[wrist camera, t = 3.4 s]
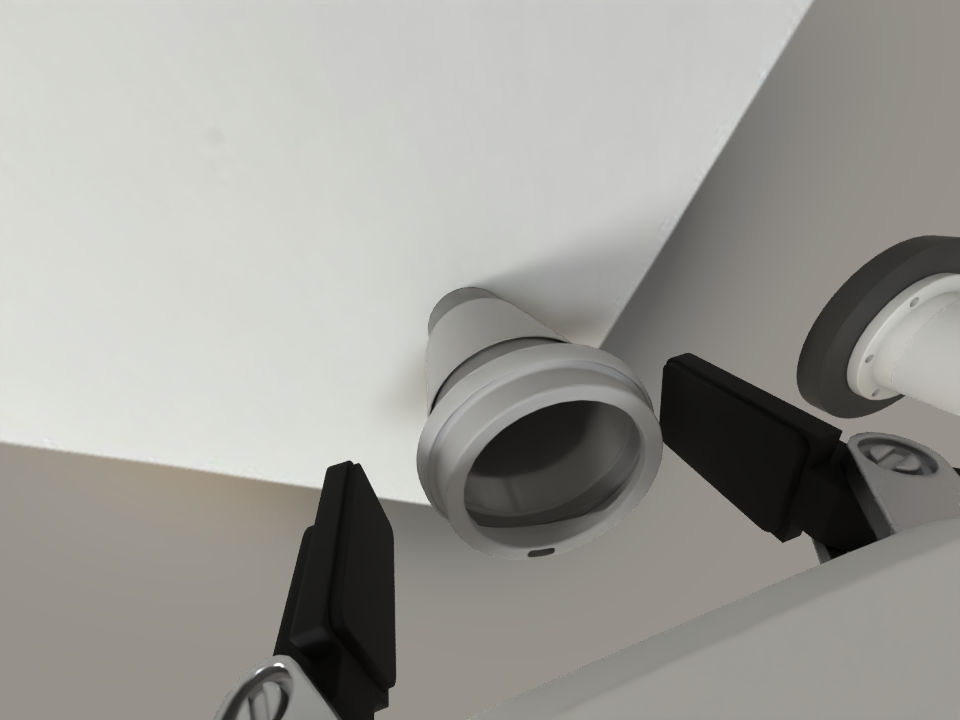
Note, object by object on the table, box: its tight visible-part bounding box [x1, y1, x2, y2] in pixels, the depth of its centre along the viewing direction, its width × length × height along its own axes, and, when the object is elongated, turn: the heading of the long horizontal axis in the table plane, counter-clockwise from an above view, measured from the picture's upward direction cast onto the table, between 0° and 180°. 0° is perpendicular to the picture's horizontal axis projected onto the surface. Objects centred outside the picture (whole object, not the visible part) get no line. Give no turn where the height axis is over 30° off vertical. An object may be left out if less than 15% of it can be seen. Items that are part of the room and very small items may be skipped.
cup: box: [417, 287, 663, 560], centre depth 14 cm, size 7×7×12 cm
